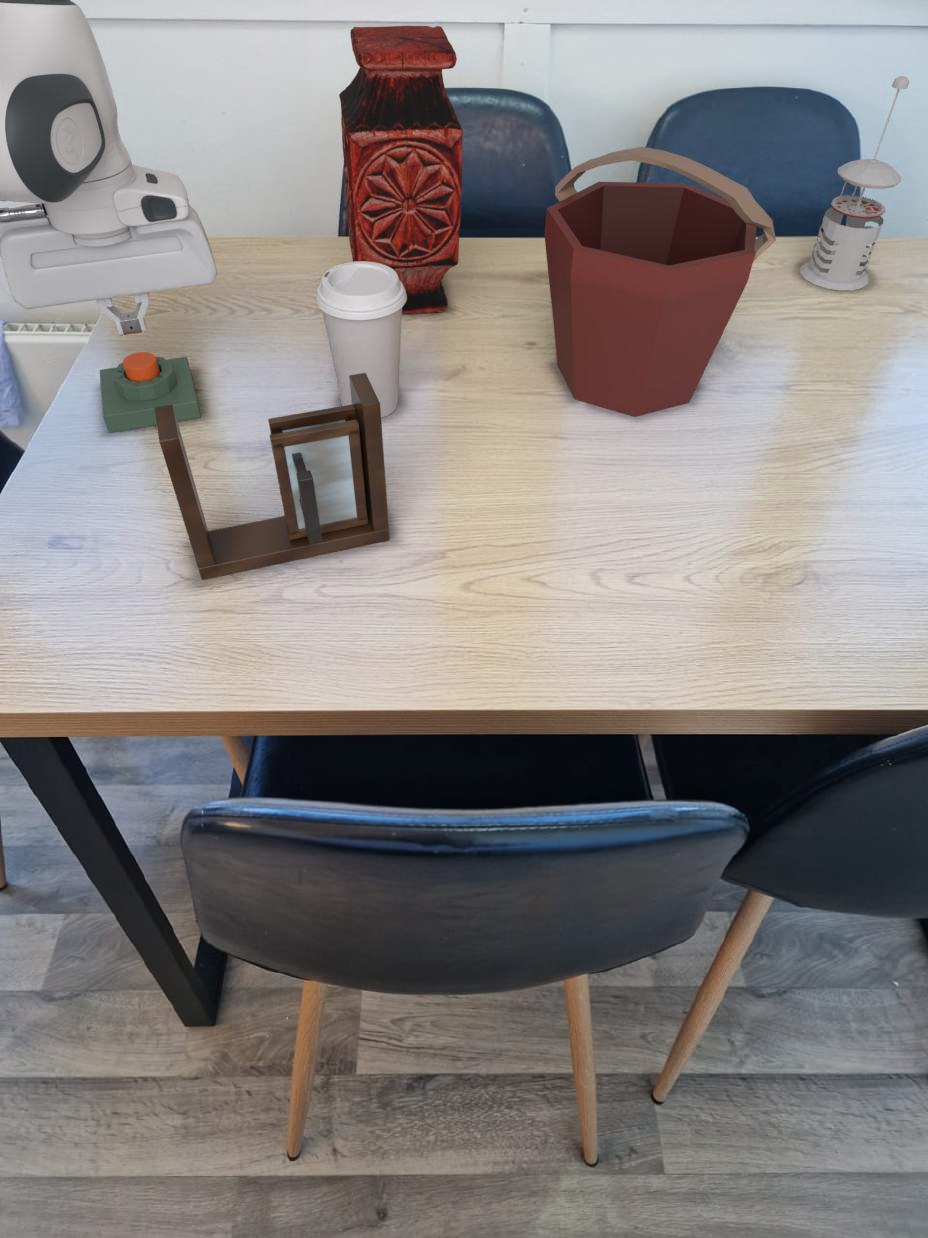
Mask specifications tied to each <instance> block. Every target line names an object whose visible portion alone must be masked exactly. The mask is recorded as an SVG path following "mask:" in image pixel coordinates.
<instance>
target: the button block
mask: <svg viewBox="0 0 928 1238" xmlns="http://www.w3.org/2000/svg"><path fill="white" fill-rule="evenodd" d="M155 357H156V359H157V363H158V366H159V370H160V374H159V375H158V376H157V377H154V378H152V379H150V380H146V381H140V382H139V381H131V380H129V379H128V378H127V375H126V372H125V369H124V366H123V362H120V363H119V364H118V365H117V366H116V367H109V368H103V369H99V380H100V392H101V404H102V416H103V419H104V423H105V425H106V429H107V431H108V433H109V434H112V433H118V432H119V433H120V432H126V431H131V430H136V429H143V428H149V427H155V426H157V424H156V417H155V411H154V407H160V406H166V405H173V408H174V411H175V415H176V418H177V422H178V423H179V422H183V421H190V420H195V419H201V417H202V416H201V412H200V407H199V402H198V398H197V394H196V389H195V383H194V380H193V375H192V370H191V366H190V363H189V359H188V356H182V357H175V358H168V359H167V358H164V357H162V356H155Z"/></svg>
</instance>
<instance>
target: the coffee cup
mask: <svg viewBox="0 0 928 1238" xmlns="http://www.w3.org/2000/svg"><path fill="white" fill-rule="evenodd" d="M406 300H407V294H406V291H405V288H404V286H403V284H402V282H401V281H400V280H399V278H398V275H397V273H396V272H395V271H394V270H393V269H392V268H390V267H388V266H386V265H383V264H380V263H375V262H367V261H357V262H353V261H349V262H344V263H340V264H337V265H334V266H332V267H330V268H329V269H327V270H326V271H325V272H324V273H323V274H322V276H321V280H320V283H319V284H318V286H317V289H316V294H315V303H316V306H317V308H319V309H320V311H321V313H322V317H323V321H324V327H325V331H326V336H327V340H328V345H329V350H330V355H331V360H332V365H333V370H334V374H335V379H336V384H337V388H338V393H339V398H340V402H341V406H346V405H351V404H352V400H351V390H350V380H349V375H354V374H361V373H366V375H367V377H368V379H369V381H370V383H371V385H372V387H373V389H374V391H375V393H376V396H377V398H378V400H379V402H380V408H381V419H383V418H386V417H387V416H389V415H391V414H393V412H395V411H396V409H397V408H398V405H399V383H400V362H401V361H400V360H401V359H400V358H401V342H402V341H401V339H402V319H403V318H402V317H403V315H402V307H403V305H404V304H405V303H406Z"/></svg>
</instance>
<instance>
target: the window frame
mask: <svg viewBox="0 0 928 1238" xmlns="http://www.w3.org/2000/svg"><path fill="white" fill-rule="evenodd" d="M349 380H350V390H351V400H352V404H351V405H346V406H342V405H340V406H335V407H328V408H323V409H317V410H312V411H305V412H300V413H295V414H289V415H283V416H277V417H271V418H268V419H267V421H268V426H269V432H270V435H272V434H278V433H284V432H289V431H295V430H301V429H306V428H312V427H318V426H323V425H329V424H335V423H340V422H346V421H351V420H357V421H358V423H359V430H360V442H361V453H362V463H363V474H364V485H365V496H366V506H367V517H368V524H365V525H360V526H355V527H350V528H346V529H341V530H336V531H331V532H326V533H321V535H322V541H320V542H315V543H311V544H309V542H308V538H307V537H302V538H297V539H292V540H290V539H289V536H288V531H287V525H286V520H285V515H282V516H277V517H272V518H266V519H262V520H258V521H252V522H247V523H242V524H237V525H231V526H227V527H222V528H217V529H211V530H209V528H208V525H207V522H206V521H207V520H206V517H205V514H204V511H203V507H202V503H201V499H200V496H199V493H198V490H197V486H196V482H195V479H194V475H193V472H192V468H191V464H190V461H189V457H188V454H187V451H186V448H185V443H184V440H183V436H182V433H181V430H180V426H179V421H178V422H177V418H176V415H175V411H174V408H173V405H166V406H160V407H154V411H155V417H156V424H157V425H156V429H157V437H158V442H159V446H160V448H161V452H162V455H163V458H164V461H165V465H166V468H167V472H168V474H169V478H170V481H171V484H172V487H173V491H174V494H175V497H176V501H177V504H178V507H179V511H180V513H181V517H182V521H183V523H184V527H185V530H186V533H187V536H188V539H189V542H190V546H191V549H192V552H193V556H194V559H195V563H196V566H197V569H198V572H199V576H200V579H201V580H202V581H204V580H208V579H209V580H210V579H214V578H218V577H223V576H229V575H233V574H237V573H242V572H246V571H247V572H248V571H251V570H257V569H261V568H266V567H271V566H275V565H280V564H285V563H289V562H294V561H298V560H303V559H308V558H312V557H317V556H322V555H327V554H331V553H336V552H341V551H345V550H350V549H351V550H352V549H355V548H360V547H364V546H370V545H374V544H378V543H383V542H388V541H390V526H389V525H390V523H389V511H388V496H387V481H386V469H385V468H386V467H385V455H384V454H385V453H384V452H385V451H384V441H383V440H384V439H383V425H382V423H383V422H382V418H381V408H380V402H379V400H378V398H377V396H376V393H375V391H374V389H373V387H372V385H371V383H370V381H369V379H368V377H367V375H366V373H361V374H354V375H349Z"/></svg>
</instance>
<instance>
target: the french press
mask: <svg viewBox="0 0 928 1238" xmlns="http://www.w3.org/2000/svg"><path fill="white" fill-rule="evenodd" d="M909 85H910V80H909V78H908V77H907V76H904V75H901V76H897V77H896V78H894V80H893V82H892V84H891V87H892V88H893V89H896V92H895V96H894V99H893V101H892V104H891V107H890V110H889V113H888V116H887V119H886V121H885V124H884V127H883V130H882V133H881V135H880V139H879V142H878V144H877V147H876V150H875V153H874V156H873V158H866V159H865V158H864V159H863V158H862V159H856V160H851V161H848V162H846V163H844V164H843V165H841V166H839V167H838V169H837V174H838V176H839V177H840V178H841V179H842V180H843V181H844V183H843V187H842V189H841V192H840V194H839V196H836V197H834V198H832V200H830V207H829V208H828V209H827V210H826V211H825V212H824V215H823V217H822V223H820V227H819V231H818V233H817V236H816V239H815V243H814V246H813V249H812V252H811V255H810V258H809V260H808V261H806V262H804V263H803V264H802V265H801V266H800V267H799V274H800V276H802V278H803V279H804V280H806V281H808V282H809V283H811V284H812V285H815V286H817V287H821V288H823V289H827V290H835V291H856V290H859V289H864V288H865V286H867V285H868V284H869V283H870V277H869V275H868V273H867V272H866V270H867V267H868V265H869V263H870V262H869V261H870V259H871V257H872V254H873V252H874V248H875V246H876V243H877V242H878V238H879V236H880V233H881V231H882V229H883V226H884V225H883V224H884V220H885V219H884V218H883V217H882V216H883V214H885V213H886V206H884V205H883V203H881V202H879V201H877V200H876V199H873V198H869V197H867V196H863V195H864V193H865V189H872V190H882V189H883V190H885V189H886V190H887V189H892V188H895V187H896V186H897V185H899V184H900V183H901V182H902V176H901V175H900V174H899V173H898V172H897V170H896V169H895V168H894V167H893V166H892V165H890V164H888V163H886V162H883V161H881V160H879V159H877V156H878V153H879V150H880V147H881V144H882V142H883V138H884V136H885V134H886V133H885V132H886V130H887V127H888V125H889V121H890V119H891V116H892V114H893V111H894V107H895V104H896V102H897V99H898V96H899V93H900V91H901V90H908V87H909ZM847 183H848V184H849V185H852V186H853V187H854V189H853V192H852V194H844V191H845V188H846V186H847ZM858 187H859V188H862V191H861V193H860V196H859V195H857V194H856V192H857V189H858ZM843 194H844V195H843ZM844 216H846V220H845V221H846V222H845V223H846V224H845V225H843V224H842V221H843V219H844ZM871 222H872V223H876V224H878V226H874V227H873V226H871V225H866V223H871ZM822 229H823V232H822ZM835 242H838V243H837V245H835ZM868 244H870V245H871V247H870V246H869V245H868ZM832 251H833V252H834V254H832ZM866 254H868V255H866Z"/></svg>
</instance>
